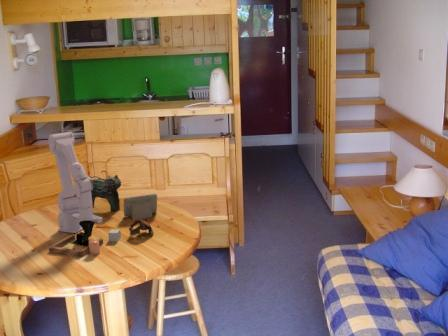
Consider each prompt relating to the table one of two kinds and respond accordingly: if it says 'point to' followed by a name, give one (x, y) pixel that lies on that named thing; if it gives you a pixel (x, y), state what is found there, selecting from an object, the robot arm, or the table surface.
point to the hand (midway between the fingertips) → (88, 236)
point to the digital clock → (140, 206)
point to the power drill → (107, 190)
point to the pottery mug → (140, 227)
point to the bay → (57, 249)
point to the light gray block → (114, 235)
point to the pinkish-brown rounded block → (94, 247)
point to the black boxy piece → (81, 239)
